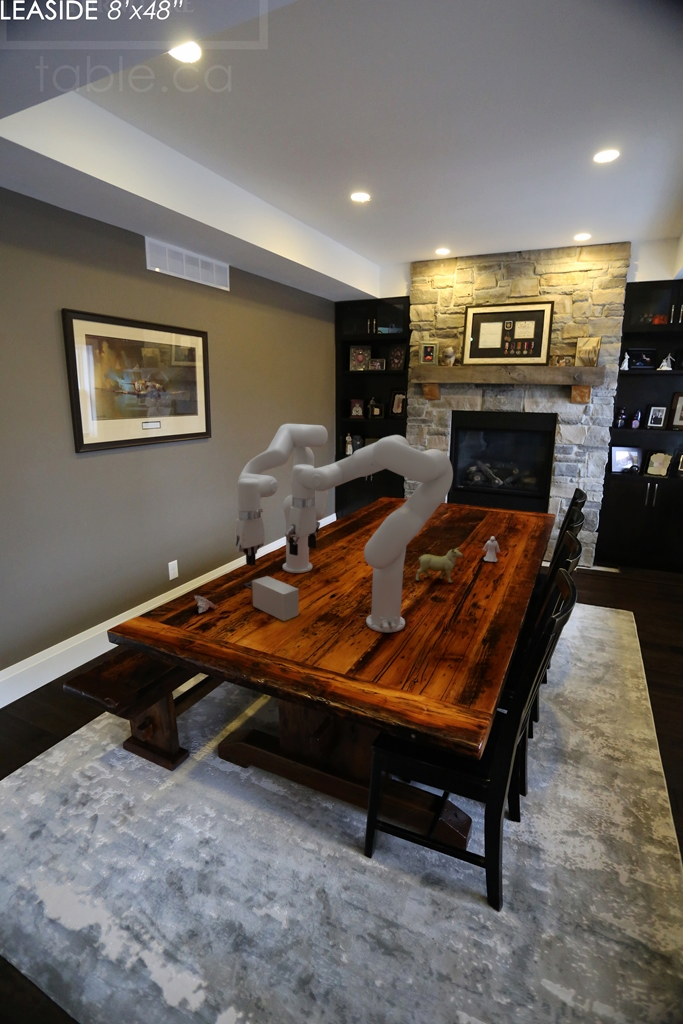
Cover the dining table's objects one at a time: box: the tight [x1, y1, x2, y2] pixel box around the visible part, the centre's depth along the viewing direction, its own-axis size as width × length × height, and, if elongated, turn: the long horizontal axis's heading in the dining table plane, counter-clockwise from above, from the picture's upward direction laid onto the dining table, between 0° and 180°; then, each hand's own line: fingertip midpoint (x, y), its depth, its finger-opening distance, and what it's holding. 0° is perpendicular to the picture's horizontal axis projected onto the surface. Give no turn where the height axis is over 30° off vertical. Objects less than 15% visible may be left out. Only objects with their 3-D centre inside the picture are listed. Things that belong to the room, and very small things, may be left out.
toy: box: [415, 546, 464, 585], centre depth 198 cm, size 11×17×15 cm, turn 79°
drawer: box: [242, 580, 253, 603], centre depth 173 cm, size 21×5×8 cm, turn 47°
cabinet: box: [251, 575, 300, 622], centre depth 170 cm, size 16×6×9 cm, turn 47°
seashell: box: [193, 595, 217, 614], centre depth 168 cm, size 8×5×8 cm
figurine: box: [482, 535, 501, 563], centre depth 223 cm, size 8×8×12 cm
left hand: (250, 564), depth 176 cm, fingers closed
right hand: (302, 551), depth 170 cm, fingers open, 9 cm apart
